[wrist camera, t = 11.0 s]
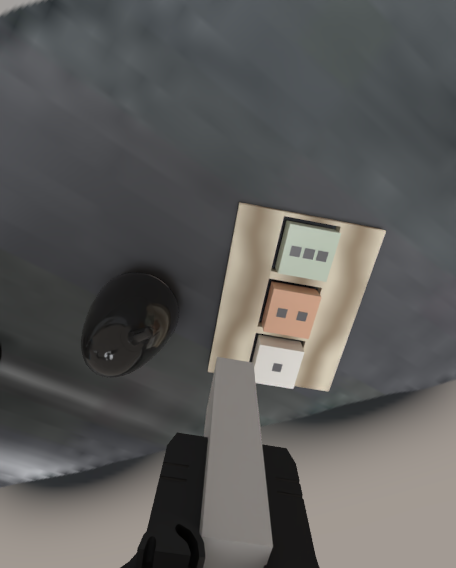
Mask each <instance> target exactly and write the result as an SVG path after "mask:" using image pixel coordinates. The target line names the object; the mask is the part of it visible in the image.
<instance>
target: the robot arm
mask: <svg viewBox="0 0 456 568" xmlns="http://www.w3.org/2000/svg"><path fill="white" fill-rule="evenodd" d="M0 354H1V353H0ZM121 568H319V565H318V562H317V559H316V556H315V551H314V547H313V542H312V538H311V532H310V528H309V523H308V518H307V514H306V509H305V505H304V500H303V499H302V490H301V486H300V484H299V476H298V472H297V467H296V463H295V462H294V460H293V458H292V457H291V455H290V454H289V452H288V450H287V449H286V448H281V447H275V446H268V445H262V439H261V429H260V420H259V410H258V401H257V392H256V382H255V373H254V363H252V362H246V361H240V360H234V359H228V358H222V357H217V360H216V365H215V370H214V375H213V380H212V385H211V391H210V396H209V401H208V406H207V412H206V421H205V430H204V437H202V436H196V435H189V434H182V433H177V434H176V435H175V436H174V437H173V439H172V440H171V441H170V443H169V444H168V445H167V449H166V453H165V457H164V462H163V465H162V470H161V474H160V479H159V482H158V486H157V491H156V495H155V499H154V503H153V507H152V511H151V515H150V520H149V524H148V528H147V532H146V533H145V534H144V535H143V538H142V540H141V542H140V544H139V547H138V550H137V554H136V555H135V556H134V557H133V558H132V559H131V560H130V561H129V562H128V563H126V564H125V565H124V566H122V567H121Z"/></svg>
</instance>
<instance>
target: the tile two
mask: <svg viewBox="0 0 456 568" xmlns="http://www.w3.org/2000/svg"><path fill="white" fill-rule="evenodd" d="M320 301H321V295H320V294H319V293H318V291H317V290H316V289H312V288H307V287H301V286H295V285H290V284H284V283H279V282H273V281H271V285H270V289H269V293H268V297H267V302H266V306H265V310H264V314H263V318H262V327H263V331H264V332H270V333H276V334H281V335H287V336H293V337H299V338H305V339H309V336H310V333H311V330H312V327H313V323H314V320H315V317H316V314H317V310H318V307H319V304H320Z"/></svg>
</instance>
